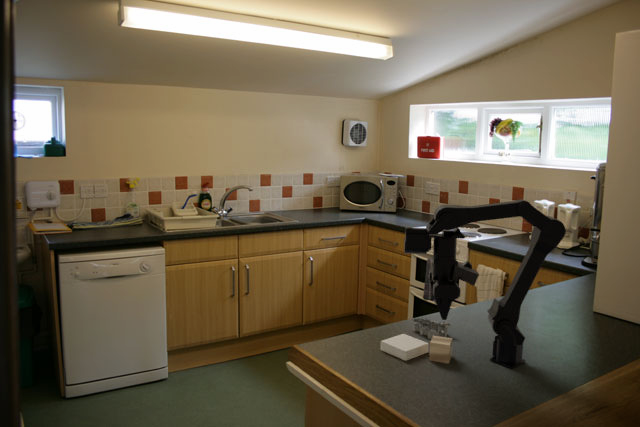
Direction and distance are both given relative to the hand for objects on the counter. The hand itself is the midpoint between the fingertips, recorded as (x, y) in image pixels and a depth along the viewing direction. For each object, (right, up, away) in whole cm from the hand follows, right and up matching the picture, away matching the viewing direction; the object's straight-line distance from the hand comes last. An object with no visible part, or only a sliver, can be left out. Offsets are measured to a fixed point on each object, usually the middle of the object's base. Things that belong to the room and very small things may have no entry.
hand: (442, 313), depth 138 cm
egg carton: (+1, -10, +20) cm, 22 cm away
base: (-9, -11, +6) cm, 15 cm away
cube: (0, -12, +1) cm, 12 cm away
